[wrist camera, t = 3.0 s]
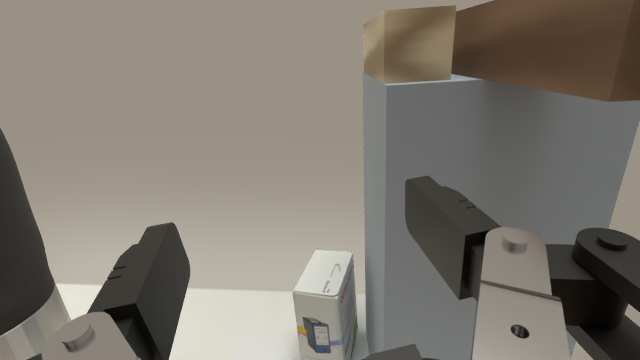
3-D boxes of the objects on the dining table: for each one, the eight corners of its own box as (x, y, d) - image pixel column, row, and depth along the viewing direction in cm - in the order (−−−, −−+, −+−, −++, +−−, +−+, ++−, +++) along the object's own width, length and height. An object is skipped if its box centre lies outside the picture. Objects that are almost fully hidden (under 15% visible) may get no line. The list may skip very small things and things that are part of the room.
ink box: (345, 385, 36) (341, 299, 32) (300, 375, 38) (290, 291, 33) (358, 326, 44) (356, 249, 40) (321, 319, 45) (315, 245, 41)
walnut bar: (608, 102, 11) (645, -45, 9) (421, 68, 31) (423, 21, 30) (739, 94, 10) (797, -56, 9) (464, 65, 31) (468, 18, 30)
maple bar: (383, 83, 20) (384, 10, 19) (363, 72, 30) (363, 24, 29) (450, 79, 20) (456, 5, 19) (407, 70, 30) (409, 21, 29)
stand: (382, 442, 31) (386, 85, 19) (366, 331, 43) (362, 72, 31) (547, 437, 30) (654, 69, 19) (483, 327, 42) (524, 62, 31)
